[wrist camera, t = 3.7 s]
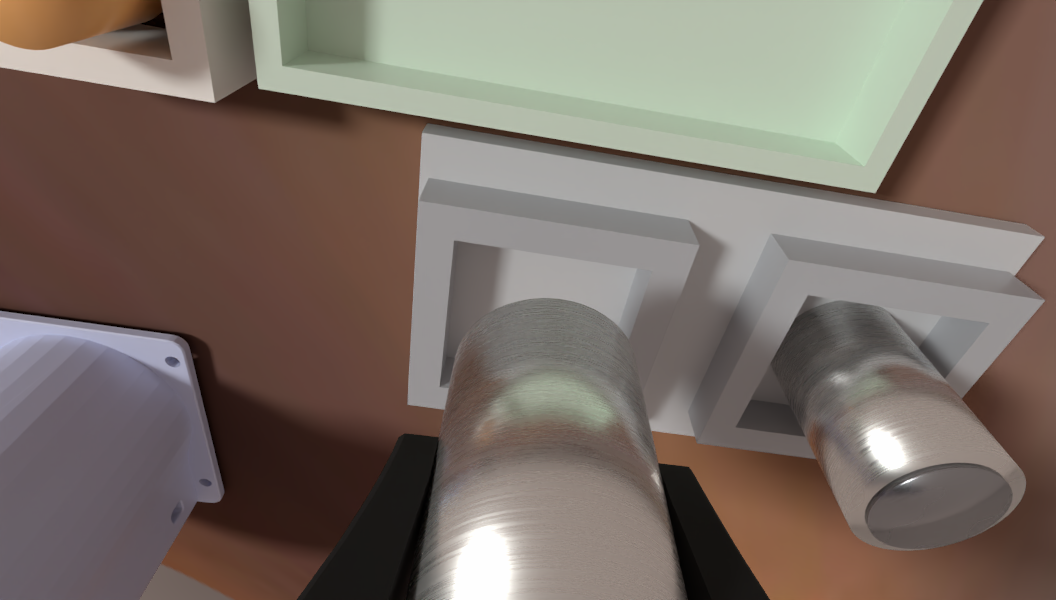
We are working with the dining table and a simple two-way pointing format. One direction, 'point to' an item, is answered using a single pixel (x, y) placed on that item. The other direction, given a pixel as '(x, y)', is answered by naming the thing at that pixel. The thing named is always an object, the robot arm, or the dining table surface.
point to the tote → (636, 72)
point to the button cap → (68, 20)
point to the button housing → (159, 53)
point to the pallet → (697, 273)
